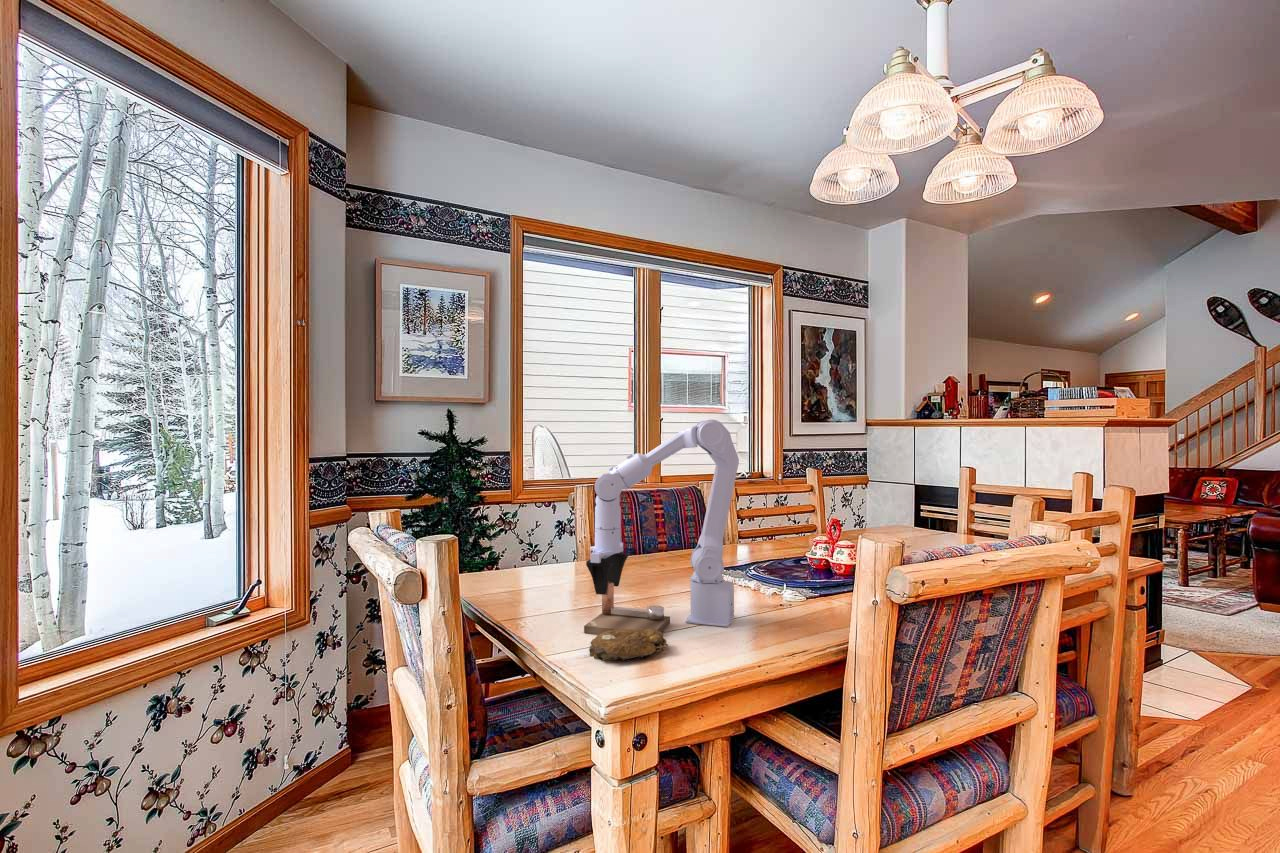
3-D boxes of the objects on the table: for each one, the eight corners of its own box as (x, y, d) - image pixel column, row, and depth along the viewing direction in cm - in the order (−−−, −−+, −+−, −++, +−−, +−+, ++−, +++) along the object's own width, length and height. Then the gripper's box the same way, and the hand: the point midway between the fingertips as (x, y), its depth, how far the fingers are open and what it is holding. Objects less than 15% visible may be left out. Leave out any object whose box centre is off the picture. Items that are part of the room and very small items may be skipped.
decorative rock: (647, 639, 125) (580, 655, 118) (646, 619, 126) (579, 633, 118) (679, 653, 116) (608, 672, 108) (678, 631, 116) (607, 648, 108)
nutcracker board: (670, 623, 134) (670, 616, 134) (653, 640, 123) (653, 632, 123) (605, 617, 139) (605, 609, 139) (584, 633, 127) (584, 625, 127)
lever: (666, 615, 133) (666, 585, 134) (661, 620, 130) (661, 589, 130) (605, 609, 138) (605, 580, 138) (599, 614, 135) (599, 584, 135)
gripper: (603, 522, 144) (603, 581, 144) (577, 531, 131) (577, 596, 130) (631, 524, 142) (631, 583, 142) (608, 533, 128) (608, 599, 128)
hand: (607, 589), depth 136 cm, fingers open, 7 cm apart
